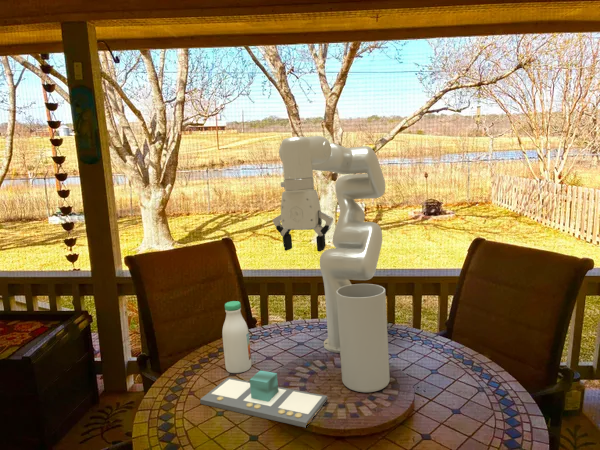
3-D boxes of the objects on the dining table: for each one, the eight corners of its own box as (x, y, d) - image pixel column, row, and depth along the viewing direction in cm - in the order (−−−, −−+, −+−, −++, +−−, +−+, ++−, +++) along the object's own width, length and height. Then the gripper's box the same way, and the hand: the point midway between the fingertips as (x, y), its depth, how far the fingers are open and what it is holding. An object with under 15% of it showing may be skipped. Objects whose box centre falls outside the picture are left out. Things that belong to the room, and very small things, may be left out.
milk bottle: (247, 374, 124) (240, 307, 122) (221, 373, 126) (214, 307, 123) (255, 362, 132) (249, 298, 129) (231, 361, 133) (224, 299, 131)
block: (261, 388, 113) (260, 370, 112) (278, 391, 111) (276, 373, 110) (251, 398, 109) (249, 379, 108) (268, 401, 106) (266, 382, 106)
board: (228, 381, 121) (227, 376, 121) (327, 400, 107) (327, 394, 107) (200, 403, 110) (199, 398, 110) (306, 427, 97) (305, 421, 97)
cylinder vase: (361, 366, 124) (356, 281, 121) (399, 379, 115) (394, 288, 112) (332, 383, 115) (326, 292, 112) (370, 399, 106) (365, 301, 103)
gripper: (263, 188, 113) (269, 252, 116) (323, 185, 105) (328, 254, 108) (277, 185, 120) (283, 246, 122) (335, 182, 112) (340, 247, 114)
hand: (304, 249), depth 115 cm, fingers open, 9 cm apart
